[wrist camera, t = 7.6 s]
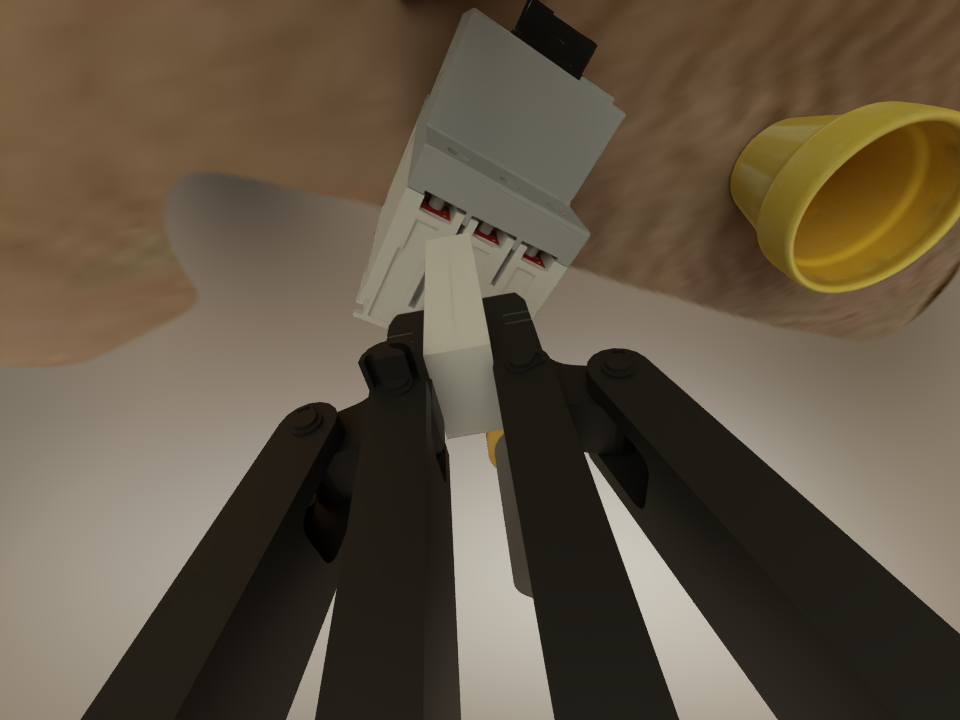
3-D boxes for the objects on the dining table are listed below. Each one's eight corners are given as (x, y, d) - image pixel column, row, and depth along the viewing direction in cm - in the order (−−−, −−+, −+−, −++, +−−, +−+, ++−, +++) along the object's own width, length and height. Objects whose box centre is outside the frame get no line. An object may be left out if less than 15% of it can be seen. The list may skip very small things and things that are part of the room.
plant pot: (803, 239, 36) (905, 297, 28) (684, 235, 35) (757, 295, 27) (880, 92, 30) (1039, 114, 22) (739, 82, 29) (854, 101, 21)
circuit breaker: (579, 58, 27) (697, 81, 15) (472, 253, 34) (494, 374, 22) (473, -19, 24) (513, -65, 12) (380, 210, 31) (350, 320, 20)
